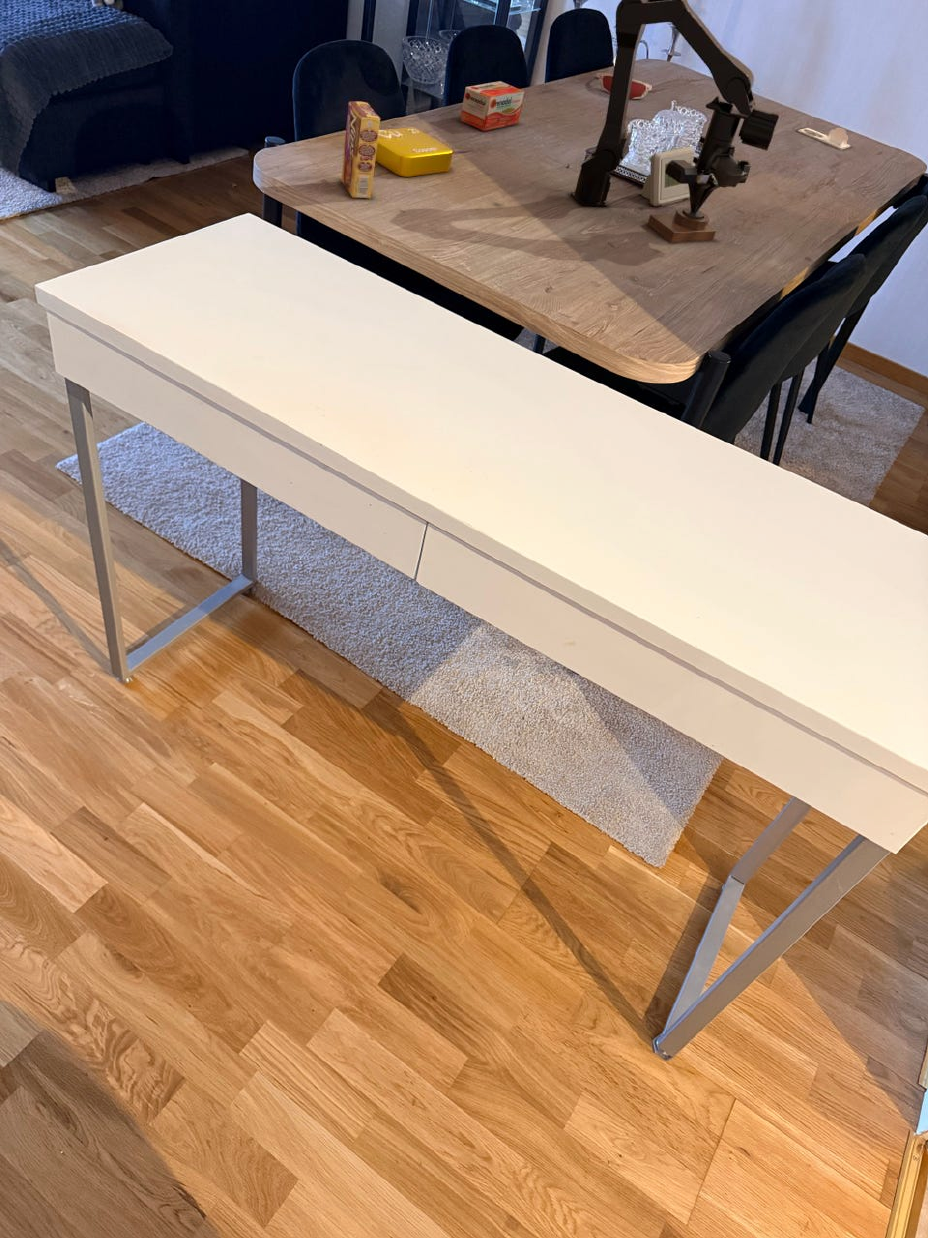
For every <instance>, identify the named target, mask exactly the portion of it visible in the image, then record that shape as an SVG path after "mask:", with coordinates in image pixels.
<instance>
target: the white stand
mask: <svg viewBox="0 0 928 1238" xmlns="http://www.w3.org/2000/svg"><path fill="white" fill-rule="evenodd" d="M797 133H800V134H801V135H805V136H807V137H810V138H811V139H814V140H816V141H819V142H821V143H824V144H826V145H828V146H830V147H833V148H835V149H838V150H840V151H841V150H844V149H848V148H851V144H848V143H847V142H848V141H849V136H848V134H847V130H846V129H845V128H842V127H836V128H835V129H834V128H833V129H831V130H829V133H828V135H827V134H824V133H821V132H819V131H817V130H815V129H812V128H810V127H805V128H802V129H798V130H797Z"/></svg>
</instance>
